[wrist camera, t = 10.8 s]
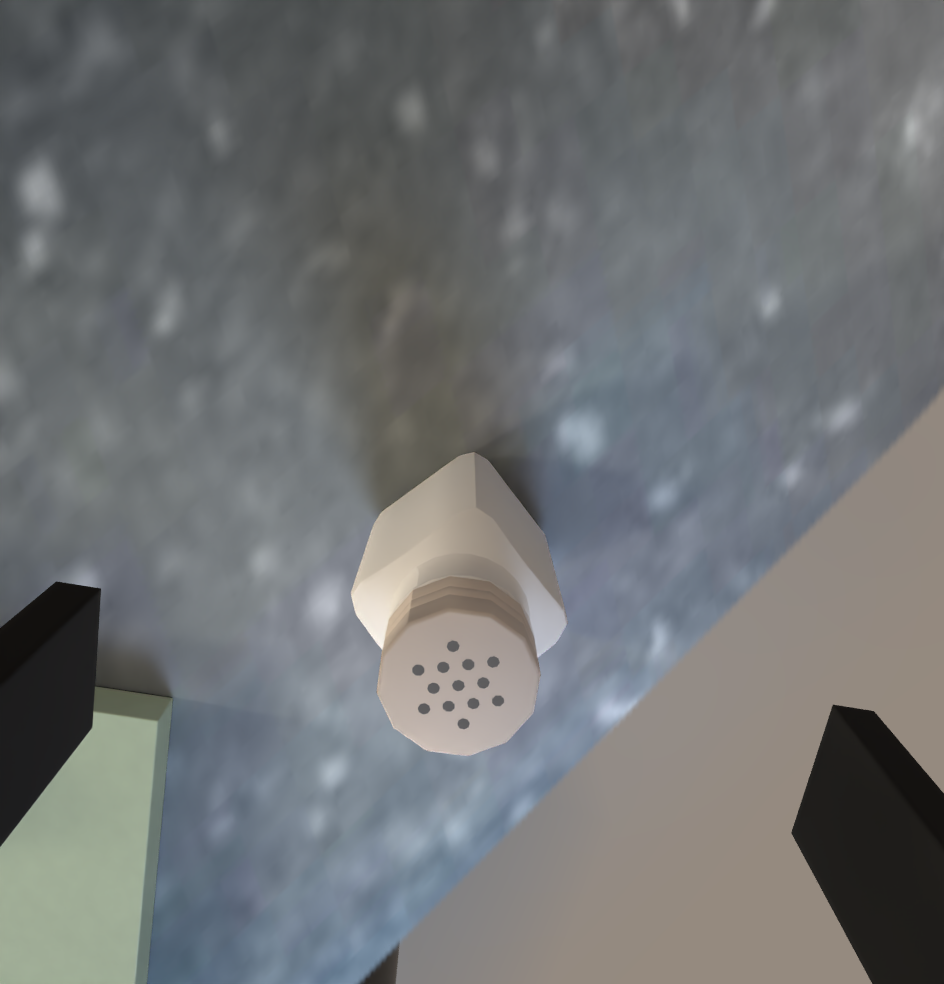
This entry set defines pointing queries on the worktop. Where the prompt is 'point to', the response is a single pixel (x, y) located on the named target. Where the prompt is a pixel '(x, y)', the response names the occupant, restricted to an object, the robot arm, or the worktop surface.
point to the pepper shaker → (459, 608)
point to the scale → (90, 854)
